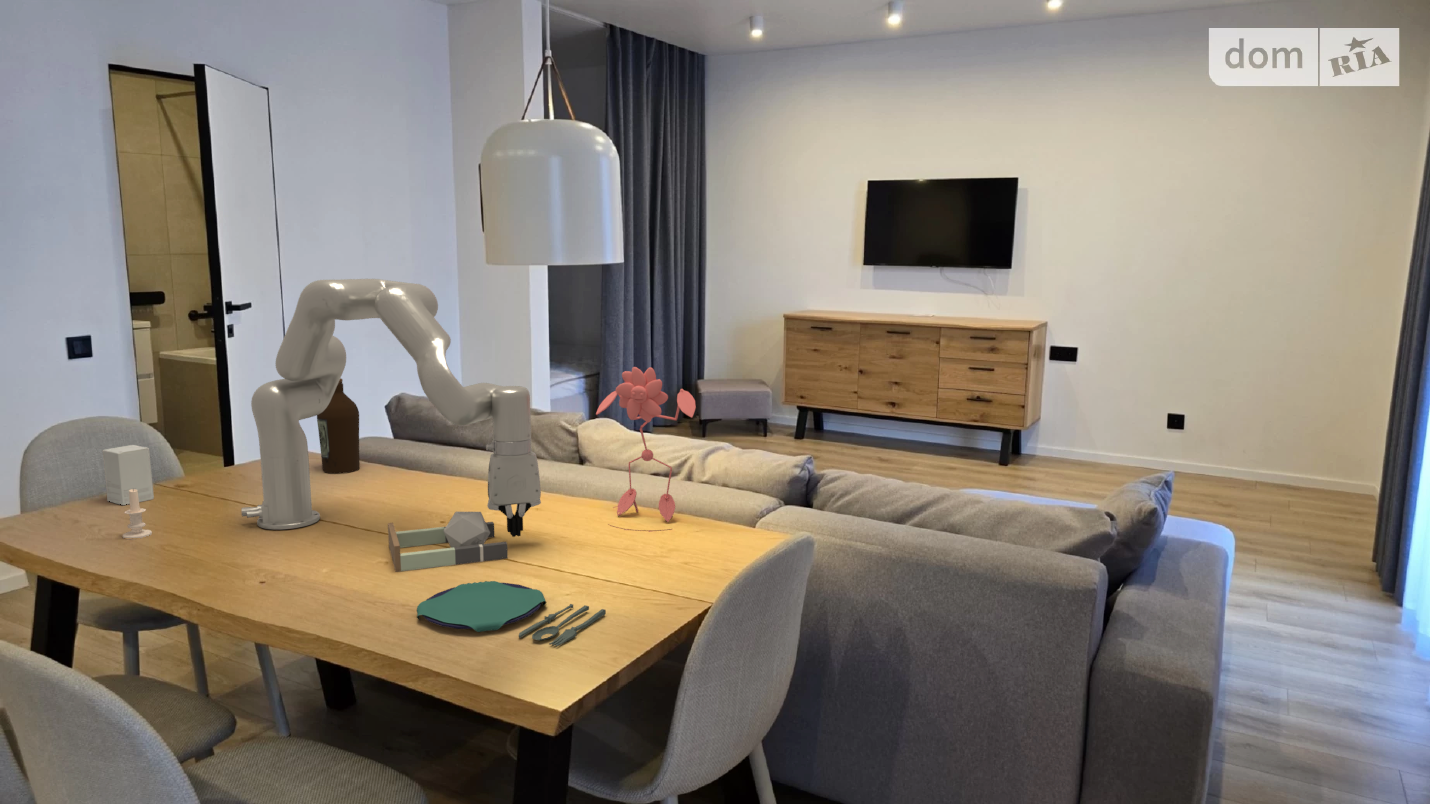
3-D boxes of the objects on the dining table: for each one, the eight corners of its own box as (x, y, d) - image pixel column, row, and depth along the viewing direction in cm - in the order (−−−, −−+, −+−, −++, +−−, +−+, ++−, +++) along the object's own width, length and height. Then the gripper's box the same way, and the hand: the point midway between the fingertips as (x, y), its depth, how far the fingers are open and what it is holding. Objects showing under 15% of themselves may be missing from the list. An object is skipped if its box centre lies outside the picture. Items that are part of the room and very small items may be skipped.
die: (466, 563, 182) (494, 521, 183) (429, 540, 182) (458, 498, 184) (475, 564, 190) (502, 524, 191) (441, 542, 190) (468, 502, 192)
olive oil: (356, 463, 261) (351, 375, 257) (366, 471, 252) (361, 379, 248) (316, 468, 255) (310, 378, 251) (325, 476, 246) (319, 382, 242)
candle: (155, 535, 195) (151, 487, 193) (127, 541, 191) (122, 492, 189) (147, 530, 198) (143, 483, 197) (119, 535, 195) (114, 487, 193)
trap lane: (395, 571, 175) (394, 546, 174) (388, 546, 189) (387, 523, 188) (507, 558, 183) (507, 533, 182) (493, 535, 197) (492, 512, 197)
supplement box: (155, 499, 223) (150, 447, 221) (122, 506, 216) (116, 453, 214) (139, 494, 226) (134, 443, 224) (106, 501, 220) (101, 449, 218)
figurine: (608, 506, 220) (607, 360, 215) (705, 520, 209) (707, 367, 204) (571, 523, 207) (569, 367, 201) (674, 539, 196) (674, 375, 190)
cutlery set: (475, 585, 170) (475, 573, 169) (615, 615, 157) (615, 602, 156) (394, 623, 152) (393, 610, 152) (543, 660, 139) (543, 646, 139)
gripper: (477, 454, 182) (481, 544, 185) (553, 448, 187) (555, 535, 190) (471, 446, 188) (475, 533, 191) (544, 441, 194) (547, 525, 197)
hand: (515, 534), depth 191 cm, fingers closed
